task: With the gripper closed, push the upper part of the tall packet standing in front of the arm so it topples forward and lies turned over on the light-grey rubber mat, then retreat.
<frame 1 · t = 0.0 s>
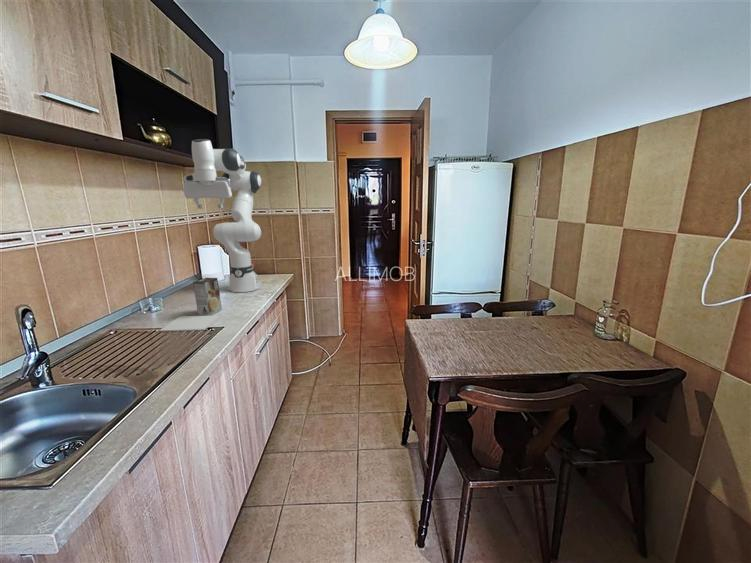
hand: (210, 208, 155), 48 cm above the worktop, fingers open, 8 cm apart
coffee box: (210, 312, 159), on the worktop
mat: (191, 323, 146), on the worktop
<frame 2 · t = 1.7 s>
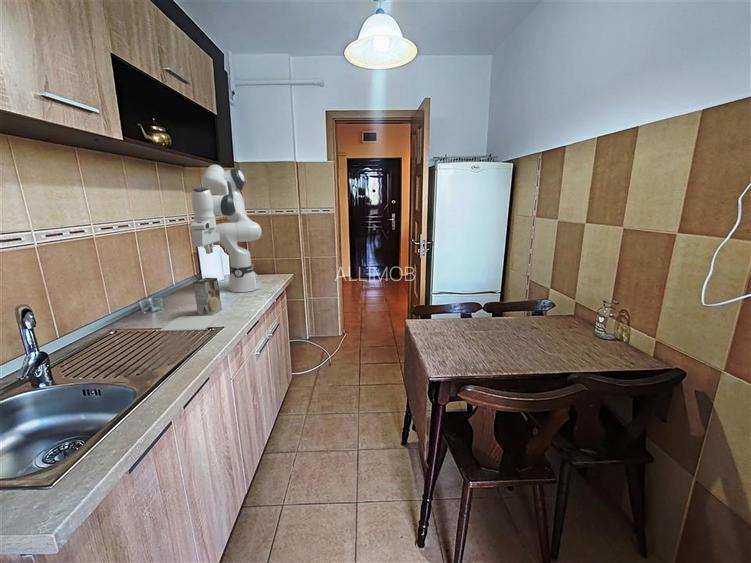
hand: (209, 253, 160), 27 cm above the worktop, fingers closed
nothing on the worktop moved.
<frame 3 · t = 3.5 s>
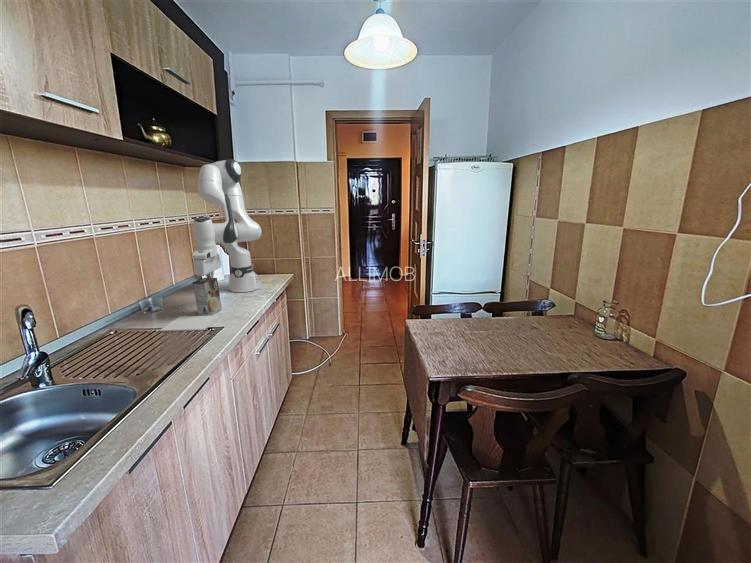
hand: (210, 280, 161), 14 cm above the worktop, fingers closed, pressing on coffee box
coffee box: (210, 312, 159), on the worktop, touching gripper
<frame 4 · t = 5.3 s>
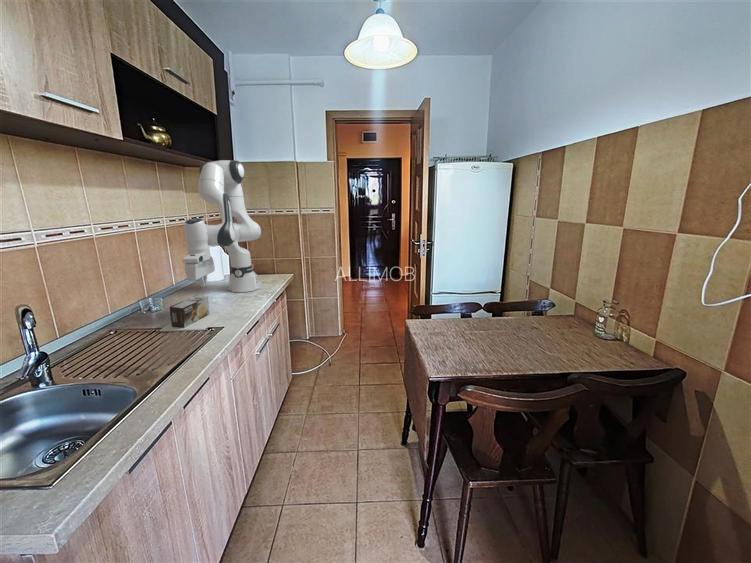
hand: (203, 285, 154), 14 cm above the worktop, fingers closed
coffee box: (203, 304, 154), point 5 cm above the worktop, touching mat
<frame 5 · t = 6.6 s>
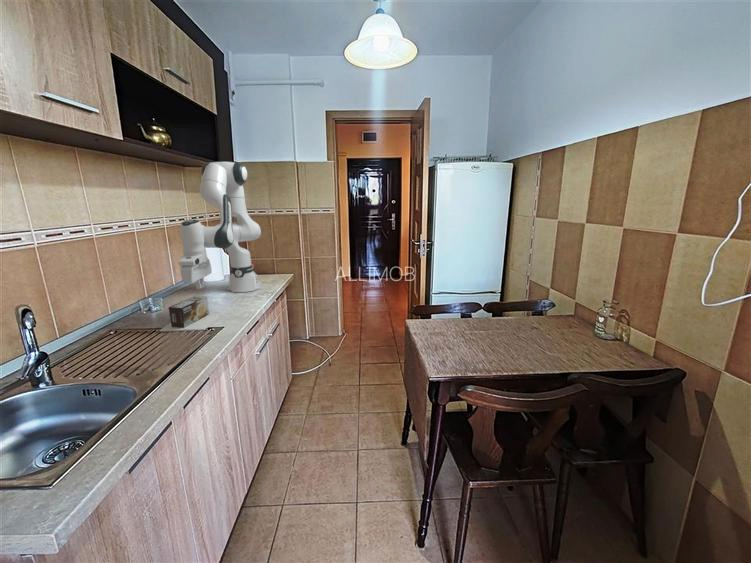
hand: (200, 288, 150), 14 cm above the worktop, fingers closed
nothing on the worktop moved.
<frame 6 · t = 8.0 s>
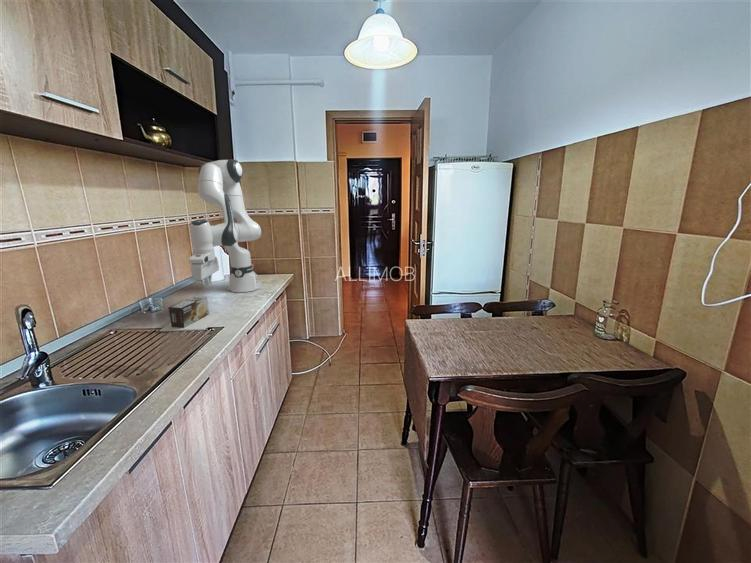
hand: (208, 284, 158), 13 cm above the worktop, fingers closed
nothing on the worktop moved.
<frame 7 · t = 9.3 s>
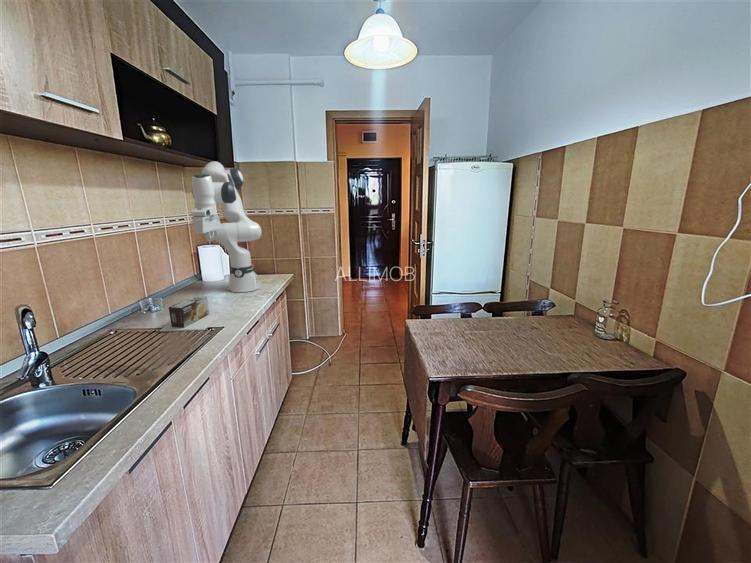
hand: (210, 241, 157), 33 cm above the worktop, fingers closed
nothing on the worktop moved.
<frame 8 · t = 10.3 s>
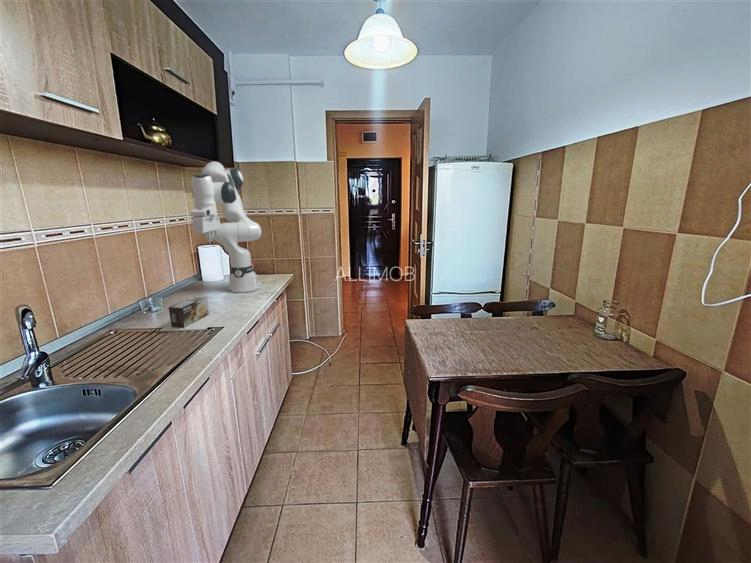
hand: (210, 241, 157), 33 cm above the worktop, fingers closed
nothing on the worktop moved.
at the end: coffee box tilted 89°; coffee box inside the target area (9.1 cm from its centre), point 5.1 cm above the worktop; the gripper is holding nothing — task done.
